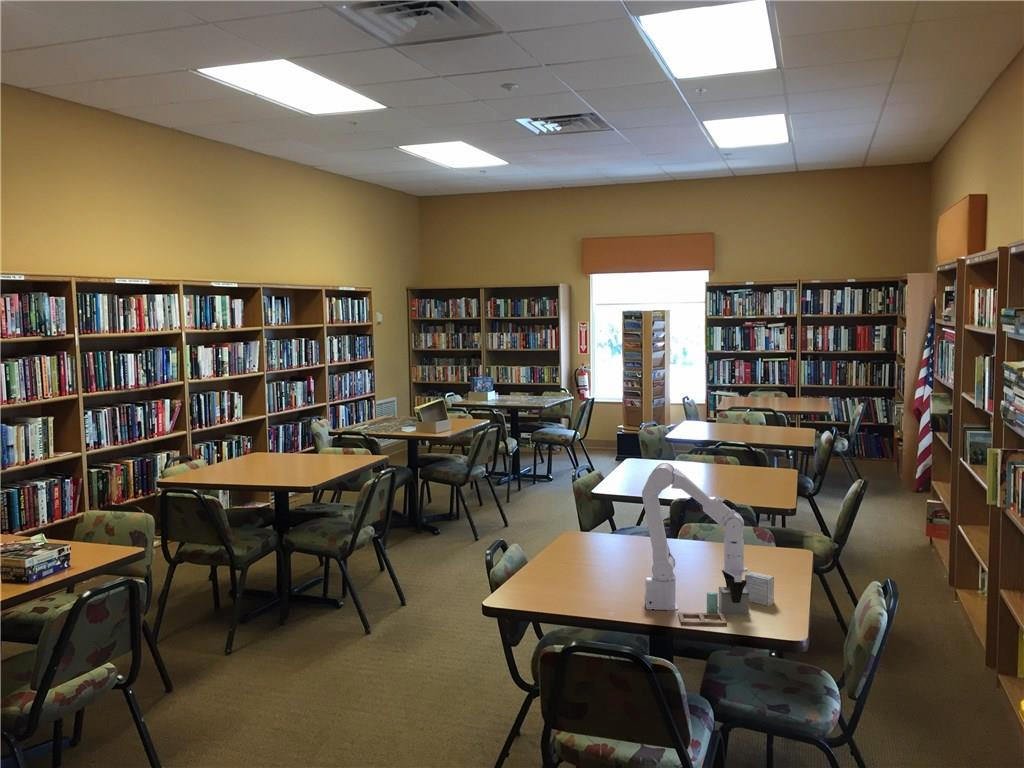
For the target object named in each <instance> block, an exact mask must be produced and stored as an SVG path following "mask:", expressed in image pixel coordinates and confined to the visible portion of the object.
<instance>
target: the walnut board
mask: <svg viewBox="0 0 1024 768" xmlns="http://www.w3.org/2000/svg"><path fill="white" fill-rule="evenodd" d="M677 616H678V620H679V623H680V625H681V626H704V627H705V626H710V627H711V626H713V627H715V626H716V627H727V626H728V623H727V619H726V617H725V615H723V613H719V612H718V613H708V612H682V611H681V612H677ZM685 618H693V619H692V620H690V619H685ZM694 618H695V619H696V618H699V620H697V619H696V620H694ZM706 619H719V620H706Z"/></svg>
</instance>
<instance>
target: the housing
mask: <svg viewBox="0 0 1024 768" xmlns="http://www.w3.org/2000/svg"><path fill="white" fill-rule="evenodd" d="M718 607H719V609H720V612H721V613H723V614H749V613H750V602H749V592H748V591H747V589H746V587H744V589H743V592H742V596H741V601H740V603H733V602H732V598H731V591H730V587H727V586H718Z"/></svg>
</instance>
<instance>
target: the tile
mask: <svg viewBox="0 0 1024 768" xmlns="http://www.w3.org/2000/svg"><path fill="white" fill-rule="evenodd" d="M718 613H721V612H720V609H719V606H718ZM723 615H724V616H748V617H749V616H750V617H751V616H752V614H751V613H750V612H749V614H723Z"/></svg>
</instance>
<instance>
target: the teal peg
mask: <svg viewBox="0 0 1024 768" xmlns="http://www.w3.org/2000/svg"><path fill="white" fill-rule="evenodd" d="M718 607H719V592H716V591H707V592H706V613H719V611H718Z"/></svg>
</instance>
